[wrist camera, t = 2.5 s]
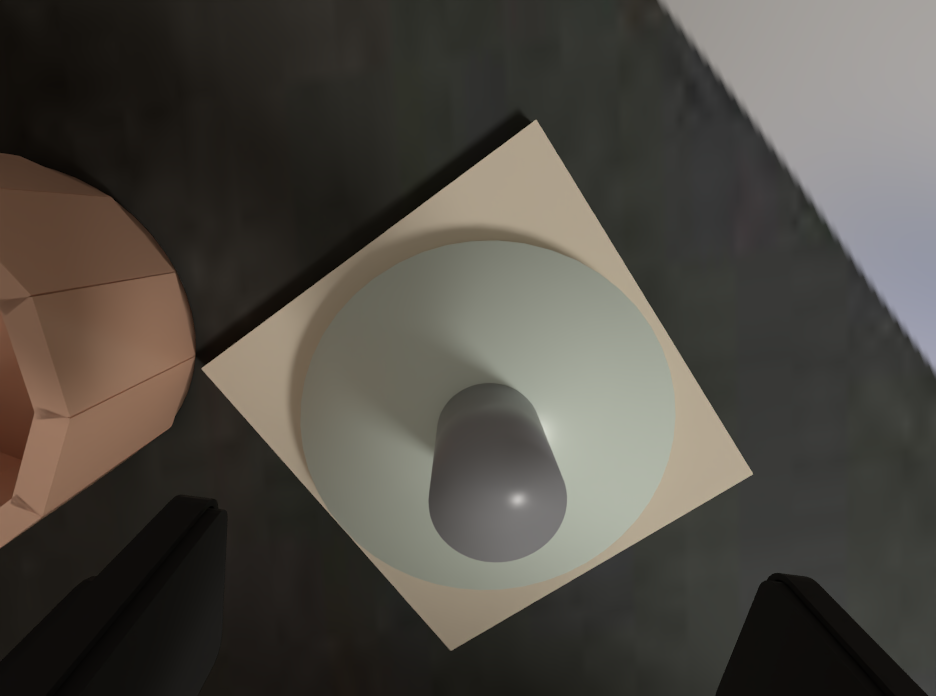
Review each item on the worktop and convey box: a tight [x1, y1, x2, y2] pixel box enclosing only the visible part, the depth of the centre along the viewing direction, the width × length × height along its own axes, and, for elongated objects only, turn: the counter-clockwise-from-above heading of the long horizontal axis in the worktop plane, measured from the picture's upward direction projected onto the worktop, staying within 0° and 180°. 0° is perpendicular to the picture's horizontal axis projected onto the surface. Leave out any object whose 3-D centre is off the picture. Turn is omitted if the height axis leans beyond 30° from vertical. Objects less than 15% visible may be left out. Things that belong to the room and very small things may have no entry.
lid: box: [300, 240, 676, 590], centre depth 15 cm, size 13×13×5 cm
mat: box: [201, 120, 753, 651], centre depth 18 cm, size 15×14×1 cm
